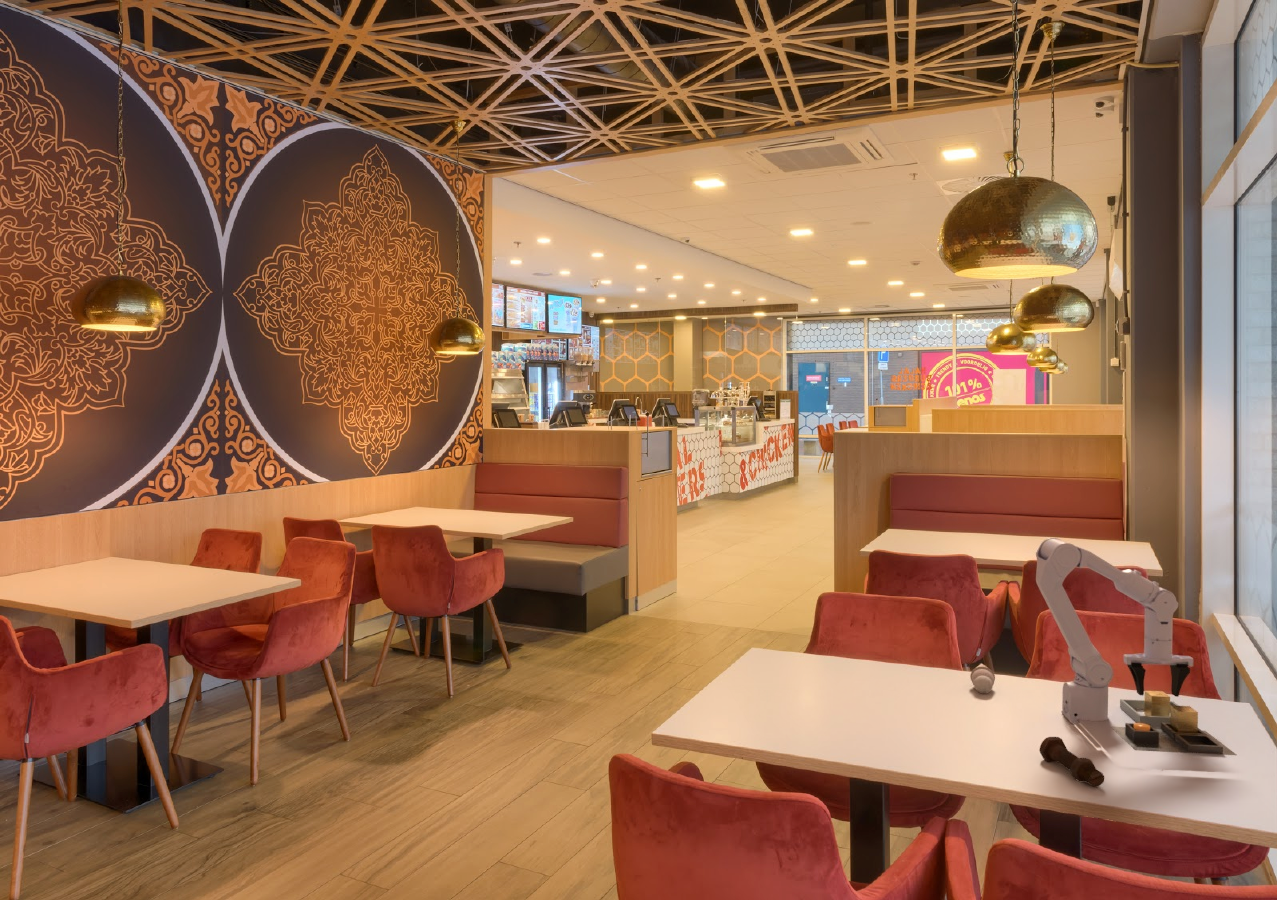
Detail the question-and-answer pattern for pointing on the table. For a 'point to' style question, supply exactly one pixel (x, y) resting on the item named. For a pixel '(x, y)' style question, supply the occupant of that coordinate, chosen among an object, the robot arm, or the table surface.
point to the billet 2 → (1183, 719)
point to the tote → (1139, 704)
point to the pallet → (1171, 740)
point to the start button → (1141, 727)
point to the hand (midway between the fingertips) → (1157, 694)
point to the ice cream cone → (982, 679)
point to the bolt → (1070, 761)
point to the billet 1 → (1157, 704)
